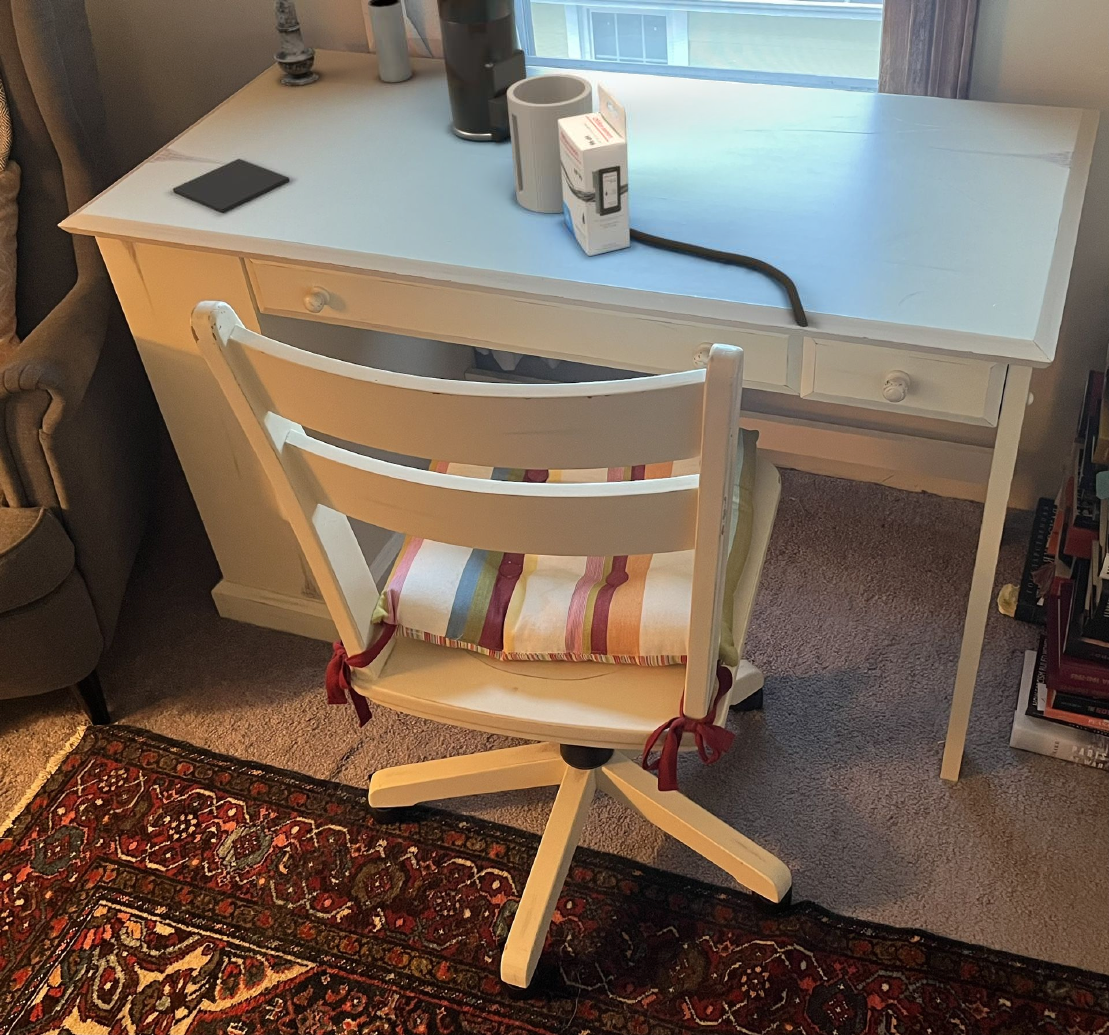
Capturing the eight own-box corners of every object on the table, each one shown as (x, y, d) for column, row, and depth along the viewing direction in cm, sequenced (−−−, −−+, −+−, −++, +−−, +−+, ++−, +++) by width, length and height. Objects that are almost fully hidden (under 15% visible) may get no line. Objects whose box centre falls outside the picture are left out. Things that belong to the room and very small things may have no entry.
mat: (289, 181, 132) (288, 177, 132) (223, 213, 127) (221, 209, 127) (239, 162, 138) (238, 158, 137) (173, 192, 132) (172, 188, 132)
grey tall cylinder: (404, 83, 154) (392, 7, 147) (375, 81, 155) (362, 6, 148) (417, 72, 157) (406, -4, 150) (388, 70, 158) (376, -5, 151)
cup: (610, 185, 126) (606, 81, 118) (569, 219, 120) (562, 111, 112) (544, 171, 130) (536, 69, 122) (501, 203, 124) (490, 98, 116)
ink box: (562, 223, 120) (553, 89, 110) (604, 214, 121) (599, 80, 111) (587, 258, 114) (580, 119, 104) (632, 248, 114) (629, 109, 105)
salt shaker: (326, 71, 160) (308, -16, 152) (311, 87, 155) (292, -2, 147) (289, 71, 161) (270, -16, 153) (273, 86, 157) (252, -2, 149)
